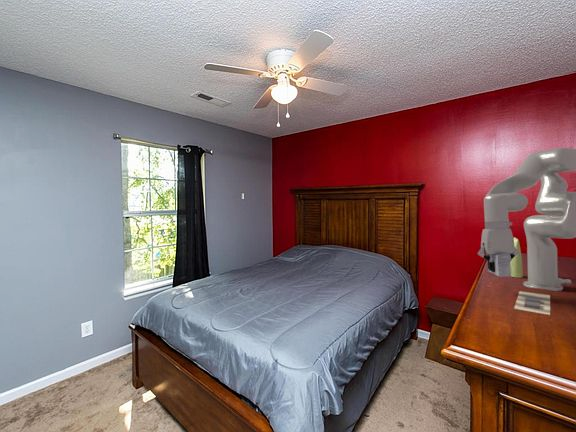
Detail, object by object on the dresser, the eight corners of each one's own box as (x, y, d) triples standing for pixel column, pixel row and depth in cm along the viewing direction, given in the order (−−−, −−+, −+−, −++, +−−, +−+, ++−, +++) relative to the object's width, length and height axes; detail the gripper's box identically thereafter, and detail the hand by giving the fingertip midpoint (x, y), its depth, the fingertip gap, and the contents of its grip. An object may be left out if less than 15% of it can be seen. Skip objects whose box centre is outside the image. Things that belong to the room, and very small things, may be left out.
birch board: (519, 294, 112) (519, 291, 112) (550, 299, 105) (550, 295, 105) (514, 312, 94) (514, 308, 94) (550, 319, 88) (550, 314, 88)
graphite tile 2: (526, 298, 103) (526, 296, 103) (540, 301, 100) (540, 298, 100) (525, 301, 100) (525, 299, 100) (540, 304, 97) (540, 301, 97)
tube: (526, 277, 135) (525, 238, 134) (518, 278, 133) (517, 239, 133) (514, 275, 140) (514, 237, 140) (507, 276, 139) (506, 237, 138)
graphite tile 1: (524, 303, 98) (524, 300, 98) (540, 305, 96) (540, 303, 95) (524, 306, 95) (524, 303, 95) (539, 309, 93) (539, 306, 93)
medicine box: (511, 276, 105) (510, 254, 105) (498, 277, 106) (497, 254, 106) (500, 271, 113) (498, 250, 112) (487, 271, 114) (486, 251, 113)
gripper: (514, 223, 111) (517, 267, 111) (468, 226, 114) (471, 269, 115) (527, 225, 103) (529, 272, 104) (477, 228, 106) (480, 274, 107)
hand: (499, 270), depth 109 cm, fingers closed on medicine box, 4 cm apart
